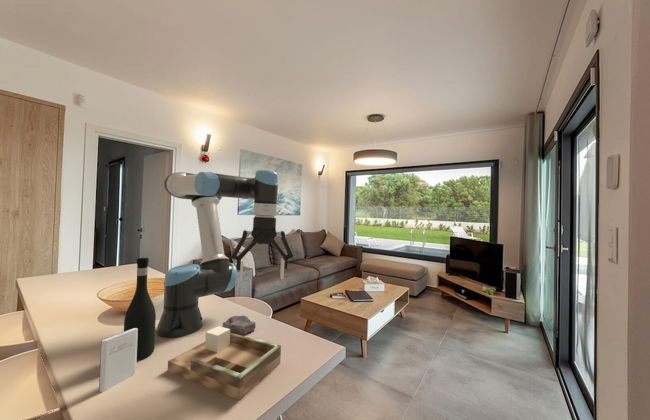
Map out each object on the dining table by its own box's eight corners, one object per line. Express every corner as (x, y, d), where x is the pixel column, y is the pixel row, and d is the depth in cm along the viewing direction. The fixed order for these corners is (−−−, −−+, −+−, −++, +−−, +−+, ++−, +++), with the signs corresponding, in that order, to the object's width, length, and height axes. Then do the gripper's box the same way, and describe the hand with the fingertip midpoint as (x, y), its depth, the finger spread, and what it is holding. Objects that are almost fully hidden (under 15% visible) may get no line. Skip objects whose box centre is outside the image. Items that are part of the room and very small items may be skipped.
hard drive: (98, 391, 64) (100, 340, 65) (132, 372, 72) (134, 327, 72) (102, 392, 64) (104, 341, 64) (136, 374, 71) (138, 328, 72)
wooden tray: (167, 371, 73) (168, 350, 73) (215, 344, 88) (216, 327, 88) (239, 402, 62) (240, 377, 62) (280, 365, 78) (281, 345, 78)
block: (205, 348, 80) (205, 332, 80) (218, 341, 85) (218, 325, 85) (217, 352, 78) (217, 335, 78) (229, 345, 82) (230, 329, 83)
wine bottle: (116, 359, 78) (120, 258, 79) (142, 346, 86) (146, 255, 86) (134, 365, 75) (138, 261, 76) (160, 351, 83) (164, 257, 83)
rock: (247, 337, 93) (247, 324, 93) (219, 334, 95) (219, 321, 96) (258, 328, 101) (258, 315, 101) (232, 325, 103) (232, 313, 104)
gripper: (225, 215, 81) (222, 284, 81) (303, 218, 89) (300, 280, 89) (225, 214, 88) (222, 277, 88) (298, 217, 96) (295, 274, 96)
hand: (261, 279), depth 88 cm, fingers open, 13 cm apart
